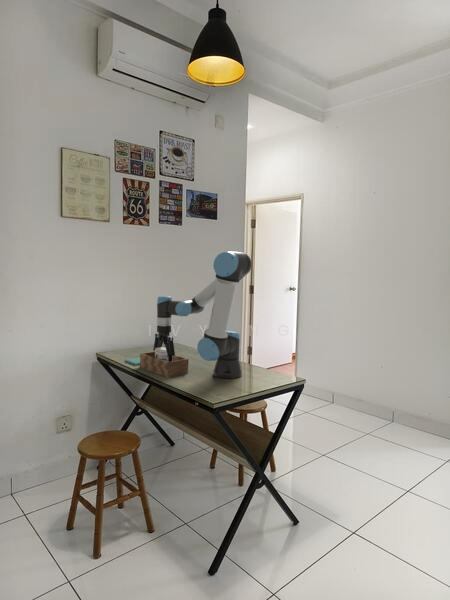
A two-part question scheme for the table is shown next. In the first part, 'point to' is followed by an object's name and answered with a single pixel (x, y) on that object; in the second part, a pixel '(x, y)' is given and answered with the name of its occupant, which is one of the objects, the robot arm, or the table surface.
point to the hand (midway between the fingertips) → (163, 366)
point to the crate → (164, 365)
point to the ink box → (161, 354)
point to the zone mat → (133, 361)
